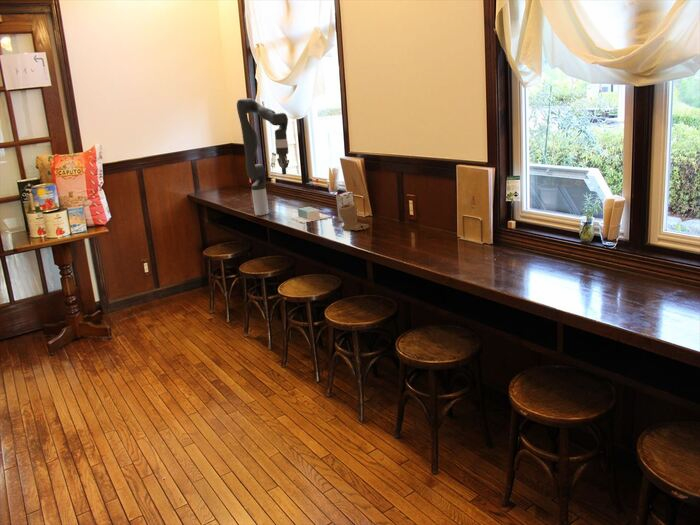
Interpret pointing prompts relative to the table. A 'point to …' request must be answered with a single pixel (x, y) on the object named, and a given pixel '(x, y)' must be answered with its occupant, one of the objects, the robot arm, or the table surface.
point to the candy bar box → (344, 201)
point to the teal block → (308, 213)
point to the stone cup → (350, 217)
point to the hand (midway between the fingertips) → (284, 174)
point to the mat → (303, 220)
